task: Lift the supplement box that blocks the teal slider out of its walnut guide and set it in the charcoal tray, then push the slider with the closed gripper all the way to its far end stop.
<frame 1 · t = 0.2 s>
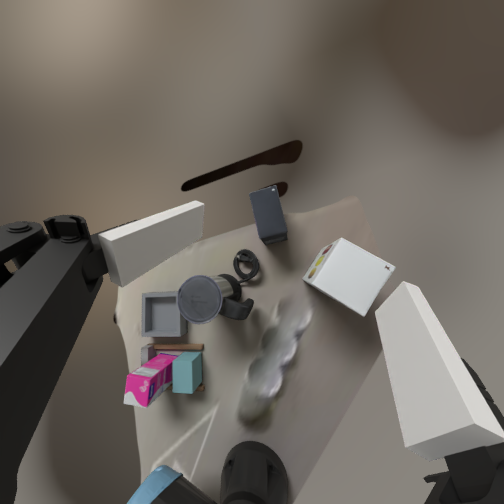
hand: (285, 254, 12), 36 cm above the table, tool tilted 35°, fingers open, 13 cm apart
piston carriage: (187, 371, 46), point 3 cm above the table, slide at 0.0 cm
milk frother: (233, 279, 49), on the table
supplement box: (169, 364, 50), resting in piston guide
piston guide: (175, 365, 49), on the table
small box: (271, 223, 49), on the table
supplement box 2: (328, 273, 45), on the table
tray: (168, 311, 51), on the table
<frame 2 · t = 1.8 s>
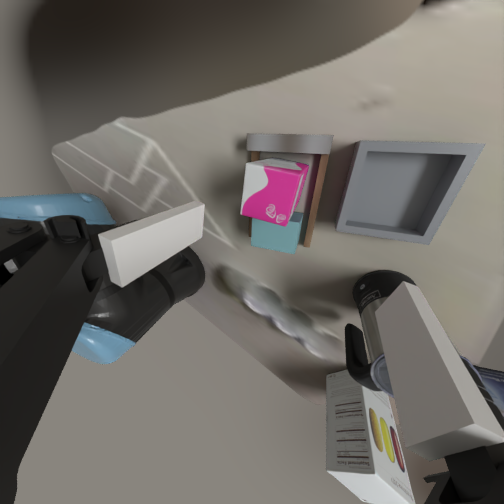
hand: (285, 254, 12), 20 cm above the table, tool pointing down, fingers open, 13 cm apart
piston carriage: (277, 229, 30), point 3 cm above the table, slide at 0.0 cm
milk frother: (396, 307, 32), on the table
supplement box: (286, 181, 29), resting in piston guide
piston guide: (284, 194, 30), on the table
small box: (460, 372, 34), on the table
supplement box 2: (354, 381, 44), on the table
tray: (388, 190, 25), on the table
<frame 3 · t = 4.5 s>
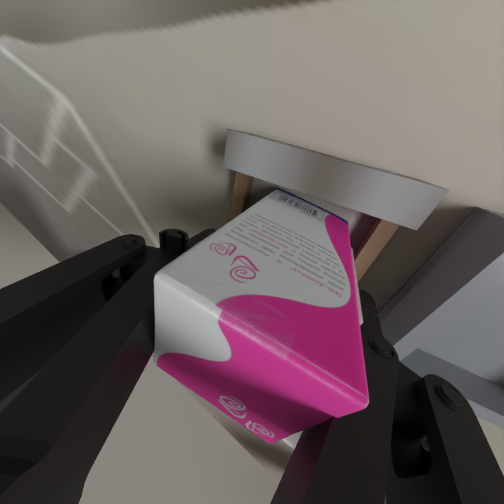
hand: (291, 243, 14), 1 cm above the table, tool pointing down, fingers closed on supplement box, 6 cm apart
supplement box: (295, 235, 15), resting in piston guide, touching gripper
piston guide: (286, 256, 16), on the table
tray: (500, 315, 12), on the table
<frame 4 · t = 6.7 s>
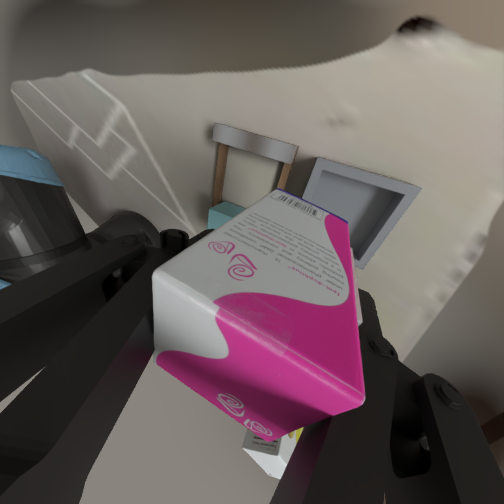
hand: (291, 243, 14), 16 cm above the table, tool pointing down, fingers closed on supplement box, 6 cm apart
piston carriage: (234, 226, 30), point 3 cm above the table, slide at 0.0 cm
supplement box: (295, 235, 15), point 14 cm above the table, touching gripper
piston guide: (247, 192, 30), on the table
supplement box 2: (290, 375, 48), on the table
tray: (341, 211, 26), on the table
when the fingers open (4 cm above the table, at t = 9.3 s): supplement box drops 2 cm, resting on tray.
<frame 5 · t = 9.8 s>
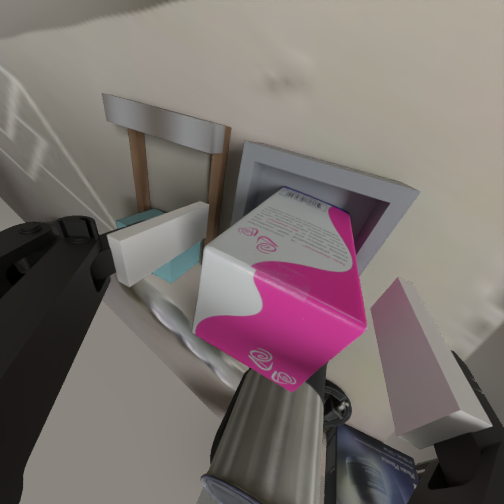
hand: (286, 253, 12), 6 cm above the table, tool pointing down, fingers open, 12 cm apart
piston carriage: (162, 243, 22), point 3 cm above the table, slide at 0.0 cm
milk frother: (307, 363, 26), on the table
supplement box: (301, 228, 17), point 1 cm above the table, touching tray
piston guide: (179, 197, 21), on the table
small box: (365, 442, 29), on the table
tray: (300, 224, 17), on the table
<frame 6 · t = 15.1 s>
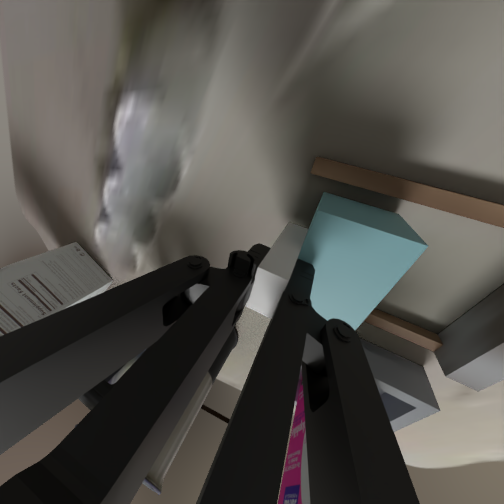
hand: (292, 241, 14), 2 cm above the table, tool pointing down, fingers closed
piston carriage: (336, 260, 13), point 3 cm above the table, slide at 0.8 cm, touching gripper
milk frother: (196, 328, 30), on the table
supplement box: (335, 373, 21), point 1 cm above the table, touching tray
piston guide: (392, 263, 14), on the table
supplement box 2: (91, 270, 35), on the table
tray: (336, 365, 21), on the table
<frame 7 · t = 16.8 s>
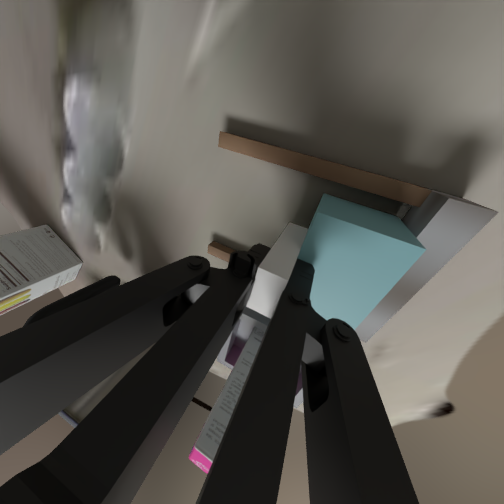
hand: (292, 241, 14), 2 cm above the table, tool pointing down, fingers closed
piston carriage: (335, 261, 13), point 3 cm above the table, slide at 8.0 cm, touching gripper
milk frother: (159, 308, 32), on the table
supplement box: (272, 342, 22), point 1 cm above the table, touching tray
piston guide: (299, 231, 16), on the table
supplement box 2: (64, 253, 37), on the table
tray: (275, 335, 23), on the table
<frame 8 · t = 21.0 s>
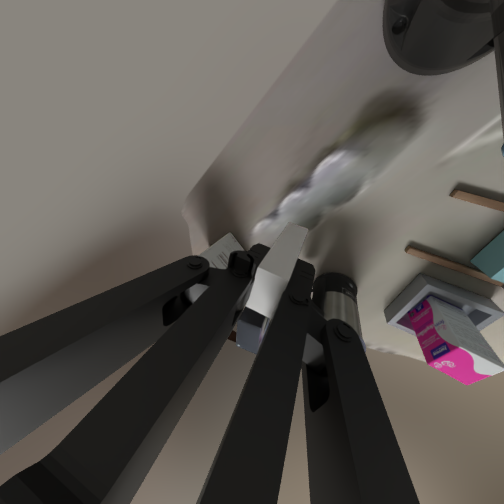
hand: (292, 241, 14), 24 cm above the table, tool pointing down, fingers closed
milk frother: (317, 292, 44), on the table
supplement box: (431, 309, 35), point 1 cm above the table, touching tray
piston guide: (484, 240, 28), on the table
small box: (261, 308, 54), on the table
supplement box 2: (230, 253, 49), on the table
tray: (430, 305, 36), on the table
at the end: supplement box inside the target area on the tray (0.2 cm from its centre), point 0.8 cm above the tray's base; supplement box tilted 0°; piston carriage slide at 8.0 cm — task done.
